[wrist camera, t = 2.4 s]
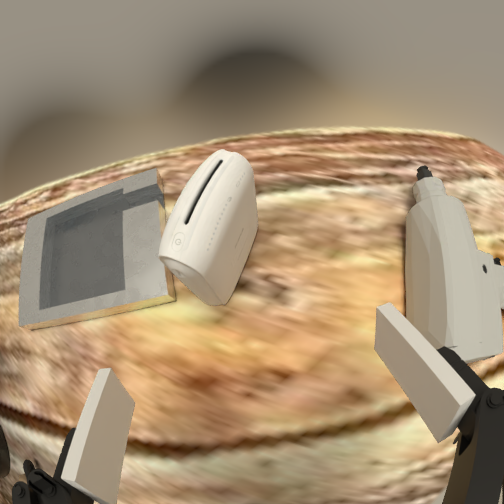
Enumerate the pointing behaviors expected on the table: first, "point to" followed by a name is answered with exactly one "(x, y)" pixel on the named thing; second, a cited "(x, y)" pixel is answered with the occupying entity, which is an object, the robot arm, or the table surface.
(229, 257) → the photo printer
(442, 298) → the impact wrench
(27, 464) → the shock absorber
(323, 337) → the table surface
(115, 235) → the plate
